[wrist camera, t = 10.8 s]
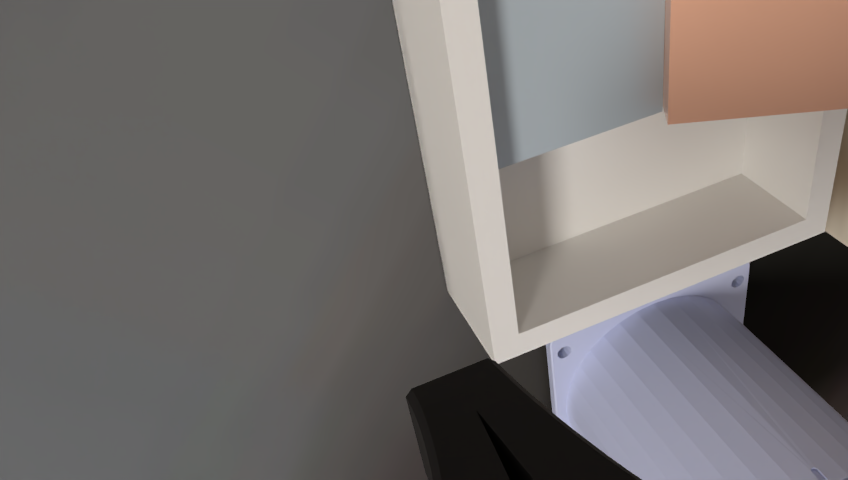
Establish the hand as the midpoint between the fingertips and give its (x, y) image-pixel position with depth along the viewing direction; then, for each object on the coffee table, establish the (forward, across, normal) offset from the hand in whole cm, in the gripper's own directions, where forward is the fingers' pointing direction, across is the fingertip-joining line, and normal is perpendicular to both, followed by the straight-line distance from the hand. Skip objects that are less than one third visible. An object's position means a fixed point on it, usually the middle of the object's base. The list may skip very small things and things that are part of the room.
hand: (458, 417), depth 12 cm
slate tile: (+8, -6, -1) cm, 10 cm away
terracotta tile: (+8, -12, -1) cm, 14 cm away
